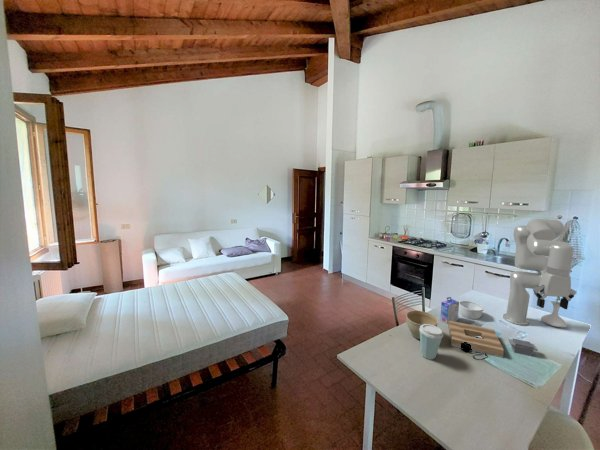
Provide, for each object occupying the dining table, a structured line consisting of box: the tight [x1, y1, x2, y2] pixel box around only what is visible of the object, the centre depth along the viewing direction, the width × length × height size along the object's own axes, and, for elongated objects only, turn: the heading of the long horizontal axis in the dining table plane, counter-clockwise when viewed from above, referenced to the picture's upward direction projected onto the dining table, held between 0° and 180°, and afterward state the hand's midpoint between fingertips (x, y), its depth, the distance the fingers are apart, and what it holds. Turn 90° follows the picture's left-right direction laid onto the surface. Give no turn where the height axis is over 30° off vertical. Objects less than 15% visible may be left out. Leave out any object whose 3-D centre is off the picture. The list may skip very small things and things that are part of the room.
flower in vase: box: [540, 297, 568, 328], centre depth 157 cm, size 13×11×25 cm
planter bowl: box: [405, 310, 439, 340], centre depth 145 cm, size 16×16×11 cm
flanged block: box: [508, 338, 539, 357], centre depth 132 cm, size 5×10×5 cm, turn 65°
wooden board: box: [447, 321, 505, 359], centre depth 141 cm, size 20×22×4 cm
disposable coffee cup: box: [419, 324, 444, 360], centre depth 128 cm, size 11×11×15 cm
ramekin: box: [458, 300, 484, 320], centre depth 168 cm, size 13×13×7 cm
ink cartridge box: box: [439, 296, 460, 324], centre depth 161 cm, size 10×6×14 cm, turn 115°
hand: (551, 307), depth 119 cm, fingers open, 9 cm apart
